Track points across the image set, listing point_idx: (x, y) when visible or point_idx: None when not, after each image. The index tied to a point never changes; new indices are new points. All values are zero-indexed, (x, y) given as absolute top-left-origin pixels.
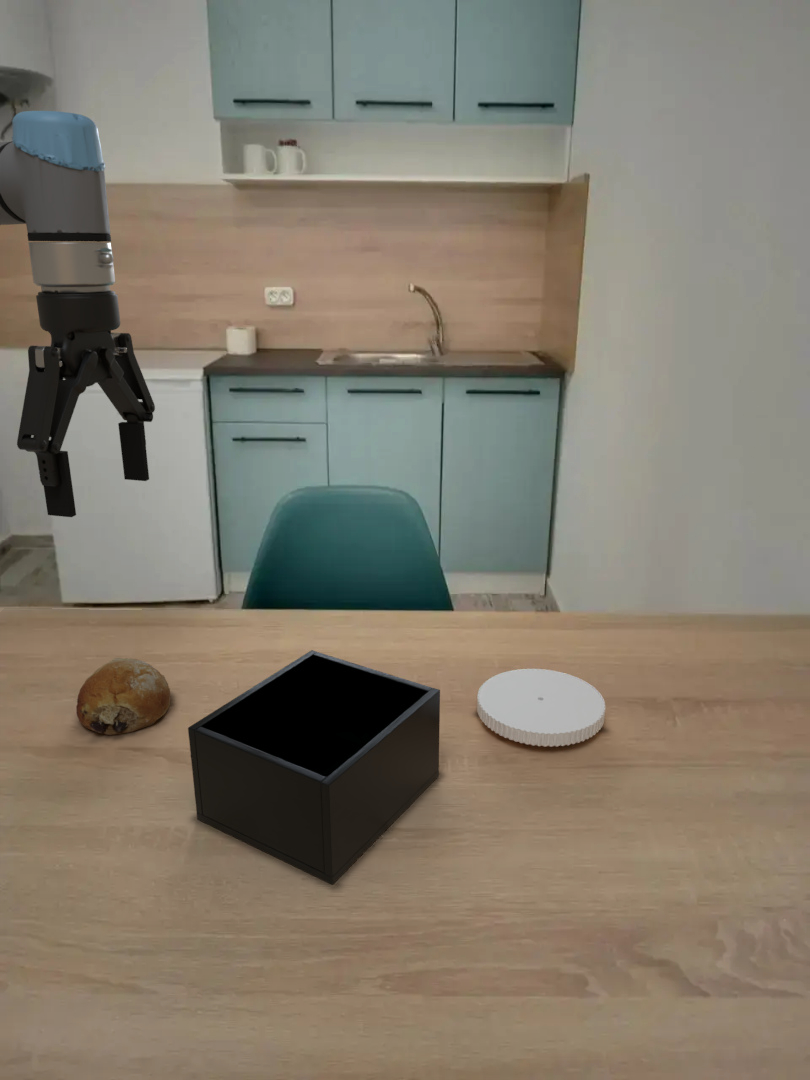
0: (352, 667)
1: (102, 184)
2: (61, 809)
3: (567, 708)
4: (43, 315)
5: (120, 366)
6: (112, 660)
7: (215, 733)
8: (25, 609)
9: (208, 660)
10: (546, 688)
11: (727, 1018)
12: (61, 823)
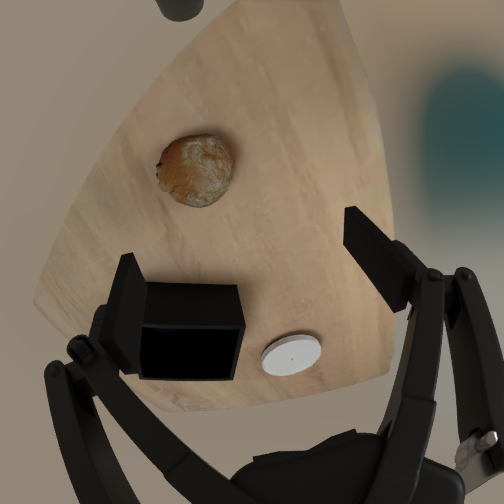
0: (235, 349)
1: None
2: (97, 216)
3: (287, 367)
4: None
5: (473, 397)
6: (206, 160)
7: None
8: None
9: (295, 168)
10: (302, 357)
11: (170, 406)
12: (90, 226)
